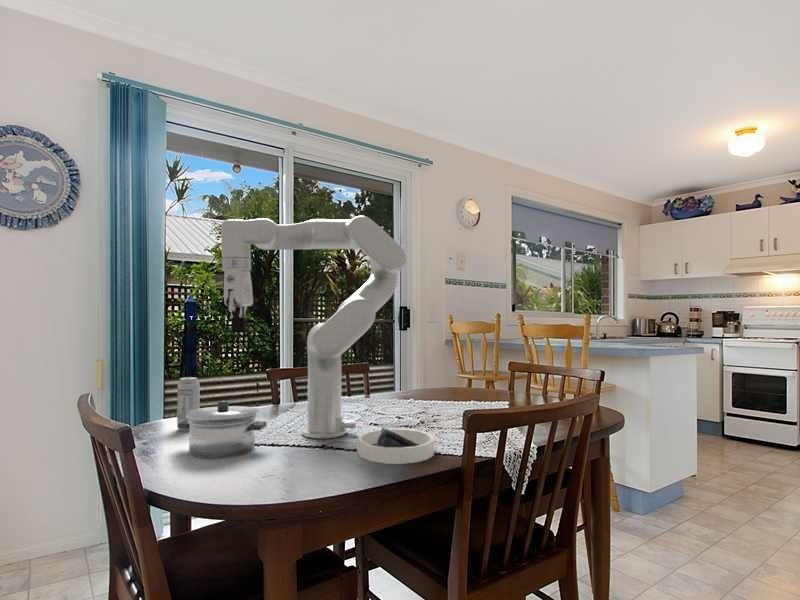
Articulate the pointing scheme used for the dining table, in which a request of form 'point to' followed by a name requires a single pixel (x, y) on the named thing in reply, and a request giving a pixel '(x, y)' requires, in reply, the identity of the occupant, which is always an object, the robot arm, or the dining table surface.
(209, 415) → the lid
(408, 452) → the round white tray
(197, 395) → the energy drink can
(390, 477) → the dining table surface
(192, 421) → the pot
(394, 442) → the dark grey wedge
